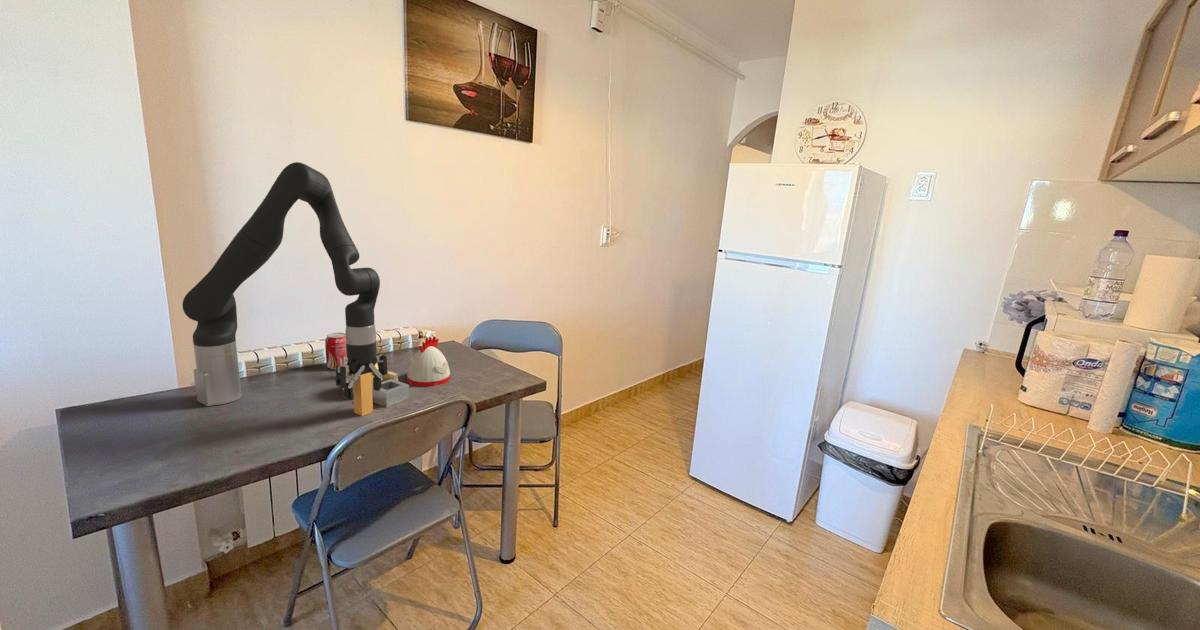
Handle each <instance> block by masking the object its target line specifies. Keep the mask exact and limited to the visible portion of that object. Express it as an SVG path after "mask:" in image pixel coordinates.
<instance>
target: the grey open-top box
mask: <svg viewBox="0 0 1200 630" xmlns="http://www.w3.org/2000/svg"><path fill="white" fill-rule="evenodd" d="M381 385H382V386H381V388H380V390H379V391H376V390H374V389H373V385H372V397H373V403H375V404H377V405H380V406H383V407H386V408H388V407H390V406H394V405H395V404H399V403H401V402H403V401H406V400H409V399H410V384H408V383H404V382H401V381H399V380H398V381H396V380H393V379H389V380H386V381H383V382H381Z"/></svg>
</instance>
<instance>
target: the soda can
mask: <svg viewBox="0 0 1200 630" xmlns="http://www.w3.org/2000/svg"><path fill="white" fill-rule="evenodd" d="M324 343H325V345H324V346H325V348H324V350H325V351H324V352H325V361H326V367H327V368H328V369H330V370H334V371H336V366H337V365H341V366H342V365H347V362H348V359H347V355H346V337H345V333H344V332H331V333H327V334H326V338H325V340H324Z"/></svg>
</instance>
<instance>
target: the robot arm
mask: <svg viewBox="0 0 1200 630" xmlns="http://www.w3.org/2000/svg"><path fill="white" fill-rule="evenodd" d="M335 197H336V196H335V194H334V191H333V188H332V185H331V182H330V181H329V179H328V178H327V176H326V175H325V174H323V173H322V172H320V171H319V170H316V169H315V168H313V167H311V166H309V165H307V164H306V163H303V162H298V161H297V162H292V163H289V164H288V165H286V166H285V167H284V168H283V169H282V171H280V172H279V175H278V176H277V177H276V179H275V181H274V182H273V184H272V186H271V187H270V189H269V191H268V192H267V194H266V195H265V197H264V198H263V200H262V201H261V203H260V204H259V206H258V207H257V208H256V210H255V211H254V212H253V214H252V215H251V216H250V218H248V220H247V221H246V222H245V223H244V225H243V226H242V227H241V229H239V230H238V232H237V233H236V235H235V236H234V237H233V238H232V240H231V241H230V243H229V244H228V245H227V246H226V248H225V249H224V251H222V253H221V255H220V256H219V258H218V259H217V260H216V262H215V263H214V264H213V267H212V268H211V269H210V270H209V271H208V273H207V274H205V275H204V277H202V278H201V280H199V282H198V283H196V285H194V286H193V287H192V288H191V289H190V290H189V291H188V292H187V293H186V294H185V296H184V298H183V299H182V310H183V312H184V314H185V316H186V317H187V318H188V319H190V320H192V321H195V322H197V323H196V328H195V329H194V331H193V333H192V344H193V351H194V352H193V353H194V359H195V367H196V368H195V369H193V378H194V384H195V385H194V386H195V393H196V394H195V395H196V400H197V402H198V403H201V404H203V405H204V406H207V407H210V406H218V405H224V404H229V403H232V402H235V401H237V400H240V399H241V398H242V384H241V376H240V367H239V358H238V348H237V339H236V333H237V330H238V318H237V317H238V315H237V313H238V312H237V302H236V297H235V295H234V293H235V292H236V291H237V289H238V288H239V287H240V286H241V285H242V284H243V283H244V282H245V281H246V280H247V279H249V278H250V277H251V276H252V275H254V274H255V273H256V272H257V271H258V270H259V269H261V267H262V266H264V265H265V264H266V263H267V262H268V261H269V260H270V258H271V257H272V256H273V255H274V253H276V251H277V250H278V248H279V247H280V245H281V243H282V242H283V237H284V230H285V229H284V228H285V227H284V226H285V221H286V220H285V219H286V216H287V215H288V213H289V212H290V210H291V209H292V207H293V206H294V204H295V203H296V202H297V201H299V200H300V201H302V202H303V201H304V202H306V203H307V204H308V205H309V206H310V207H311V209H313V211H314V213H315V215H316V216H317V219H318V221H319V222H318V223H319V237H320V240H321V243H322V246H323V248H324V249H325V252H326V254H327V255H328V257H329V259H330V261H331V266H332V270H333V274H334V276H333V277H334V282H335V287H336V288H337V290H338V291H339V292H340V293H341V294H343V295H344V296H348V297H350V296H358V297H357V298H356V299H355V300H354V301H352V302H350V303H348V304H346V306H345V308H344V309H345V310H344V314H345V330H344V331H345V333H344V334H345V337H346V355H347V359H348V362H347V365H342V366H341V365H337V366H336V370H335V386H336V387H339V388H341V389H342V388H344V391H343V396H344V399H346V400H347V401H354V395H353V388H352V386H353V384H354V382H355V381H357V379H358V378H359V376H360V375H362V374H366V373H369V372H371V373H372V375H373V376H374V378H373V389H374V390H376V391H379V390H380V388H381V386H382V385H381V378H382V376H383V375H386V374H387V373H388V371H389V370H388V362H387V361H388V360H387V356H386V355H385V354H381V353H378V351H377V350H378V349H377V331H376V325H375V307H376V304H377V298H378V295H379V292H380V287H381V279H380V276H379V274H378V272H377V270H375V269H374V268H372V267H357V268H351V266H352V265H354V264H356V263H357V262H358V261H359V259H360V256H361V255H360V252H359V250H358V248H357V246H356V244H355V242H354V240H353V239H352V236H351V235H350V233H349V231H348V229H347V227H346V225H345V223H344V221H343V218H342V216H341V213H340V209H339V207H338V204H337V202H336V198H335ZM376 363H377V365H378V369H377V368H376V367H375V364H376ZM347 369H349V371H348V373H347ZM346 373H347V375H346ZM352 374H353V375H354V376H353V377H352Z"/></svg>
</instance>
